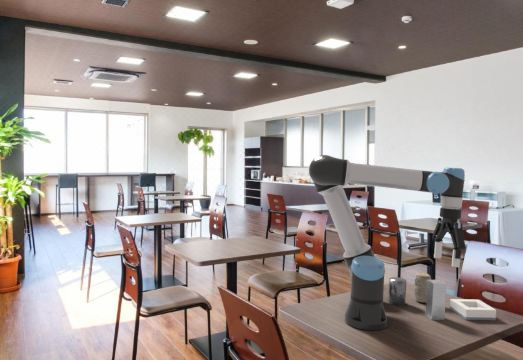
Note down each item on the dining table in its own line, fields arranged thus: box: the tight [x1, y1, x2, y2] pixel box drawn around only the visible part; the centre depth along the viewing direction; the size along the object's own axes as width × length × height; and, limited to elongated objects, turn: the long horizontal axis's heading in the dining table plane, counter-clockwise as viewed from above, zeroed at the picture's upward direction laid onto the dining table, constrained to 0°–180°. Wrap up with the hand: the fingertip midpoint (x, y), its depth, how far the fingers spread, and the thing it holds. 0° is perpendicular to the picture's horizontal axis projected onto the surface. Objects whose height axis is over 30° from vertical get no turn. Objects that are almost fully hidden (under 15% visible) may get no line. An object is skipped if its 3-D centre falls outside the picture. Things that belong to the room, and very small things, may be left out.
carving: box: [413, 272, 432, 304], centre depth 179 cm, size 6×8×12 cm
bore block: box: [449, 298, 497, 321], centre depth 166 cm, size 12×12×4 cm
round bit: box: [387, 276, 407, 307], centre depth 176 cm, size 7×7×10 cm
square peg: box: [425, 279, 447, 321], centre depth 161 cm, size 5×5×14 cm
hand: (446, 262), depth 161 cm, fingers open, 13 cm apart
